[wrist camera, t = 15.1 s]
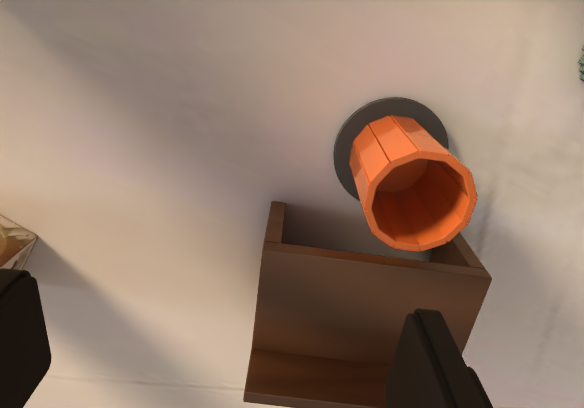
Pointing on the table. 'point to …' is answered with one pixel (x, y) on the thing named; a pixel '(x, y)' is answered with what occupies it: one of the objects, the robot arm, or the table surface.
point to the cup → (410, 185)
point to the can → (583, 69)
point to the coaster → (372, 114)
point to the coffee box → (14, 244)
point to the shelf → (348, 317)
